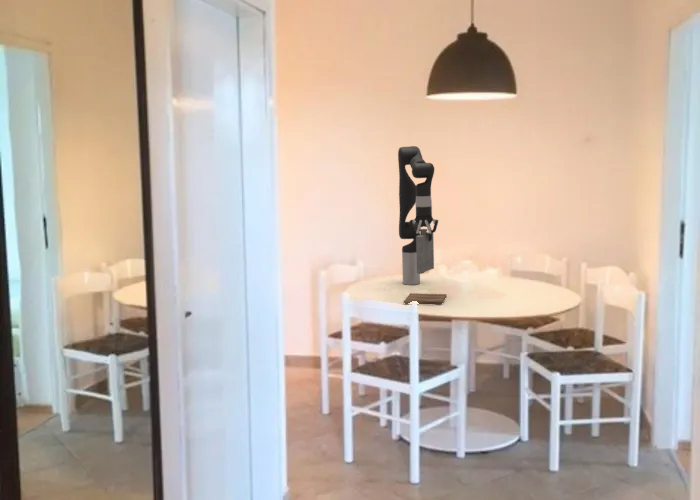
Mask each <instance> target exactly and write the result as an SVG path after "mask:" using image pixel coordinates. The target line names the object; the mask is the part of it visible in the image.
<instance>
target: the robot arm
mask: <svg viewBox="0 0 700 500" xmlns="http://www.w3.org/2000/svg"><path fill="white" fill-rule="evenodd" d="M397 151H398V152H397V161H398V162H397V163H398V172H399V173H398V175H399V176H398V177H399V182H398V184H399V185H398V186H399V187H398V196H399V197H398V199H399V200H398V201H399V221H398V222H399V223H398V236H399V238H400V239H401V240H412V241H411V242H409V243H408V244H406V245H403V246H402V248H401V256H402V257H401V258H402V284H403V285H408V286H409V285H410V286H411V285H412V286H414V285H419V284H421V274H418V273H417V252H416V236H418V235H420V232H421V231H420V229H422V228H423V227H425V228H427V232H429V241H431V240H432V233H433V234H434V233H436V231H437V228H438V223H439V219H435V218H433V204H432V203H433V202H432V182H433V178H434V174H435V166H434V164H433V163H431V162H426V161H425V160H424V159H423V158H424V157H423V155H422V151H421V150H420V148H419V147H418V146H415V145H413V146H412V145H411V146H401V147H399V148H398V150H397ZM407 166H410V168H411V175H412V177H414V178H415V179H425V181H423V182H420V183H417V184H415V182H414V181H413V179H412V178H411V176H410V175H409V173H408V172H407V169H406V167H407ZM414 206H415V218H414V219H410V220H409V221H406V220H407V217H408V215H409V214H410V211H411V210H412V209H413V207H414ZM432 223H433V229H432V227H431V224H432Z"/></svg>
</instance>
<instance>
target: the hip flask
mask: <svg viewBox="0 0 700 500" xmlns="http://www.w3.org/2000/svg"><path fill="white" fill-rule="evenodd" d="M434 245H435V244H434V232H433V233H432V240H431V241H429V231H428V229H426V228H421V229H420V235H418V236H416V252H417V273H418V274H420V275H421V274H424V273H426V272H427V271H428V272H429V271H430V270H434V268H435V263H434V262H435V259H434V258H435V257H434V256H435V255H434V254H435V253H434V251H435V249H434Z"/></svg>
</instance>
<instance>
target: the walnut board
mask: <svg viewBox="0 0 700 500" xmlns="http://www.w3.org/2000/svg"><path fill="white" fill-rule="evenodd" d="M447 295H448V294H447V293H409V294H408V295H407V296H406V298H405V299H404V300H403V304H404V303H405V304H404V305H409V304H408V303H410V302H412V301H417V302H418V303H419V304H442V303H443V304H444V302H445V301H444V300H446V299H447ZM445 298H446V299H445ZM443 301H444V302H443ZM443 304H442V305H443Z"/></svg>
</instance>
